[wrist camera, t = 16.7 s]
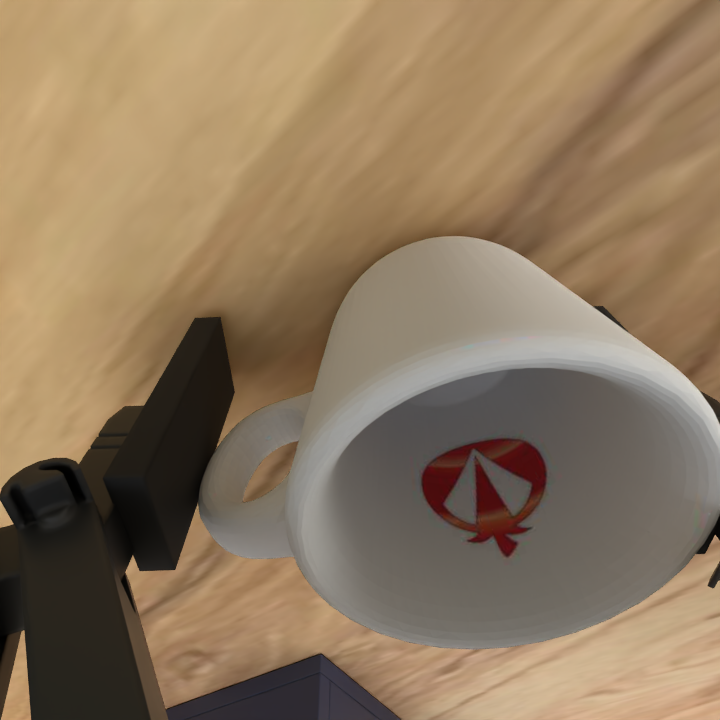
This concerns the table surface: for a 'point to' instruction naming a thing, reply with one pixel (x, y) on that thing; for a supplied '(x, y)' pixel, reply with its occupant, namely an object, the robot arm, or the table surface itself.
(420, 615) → the cup
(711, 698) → the table surface
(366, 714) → the chest
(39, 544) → the robot arm
